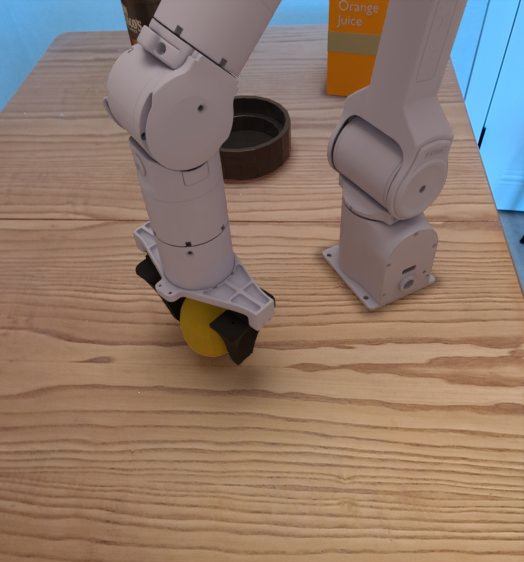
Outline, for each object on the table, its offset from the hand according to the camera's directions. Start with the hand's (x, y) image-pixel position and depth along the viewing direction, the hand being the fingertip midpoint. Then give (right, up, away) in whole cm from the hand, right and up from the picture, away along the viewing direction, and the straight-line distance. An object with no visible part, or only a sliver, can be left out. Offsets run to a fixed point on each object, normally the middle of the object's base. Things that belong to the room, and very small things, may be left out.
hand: (213, 335), depth 53 cm
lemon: (0, -1, +2) cm, 2 cm away
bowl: (+2, +24, +21) cm, 31 cm away
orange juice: (+19, +37, +30) cm, 51 cm away
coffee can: (-8, +38, +32) cm, 50 cm away
